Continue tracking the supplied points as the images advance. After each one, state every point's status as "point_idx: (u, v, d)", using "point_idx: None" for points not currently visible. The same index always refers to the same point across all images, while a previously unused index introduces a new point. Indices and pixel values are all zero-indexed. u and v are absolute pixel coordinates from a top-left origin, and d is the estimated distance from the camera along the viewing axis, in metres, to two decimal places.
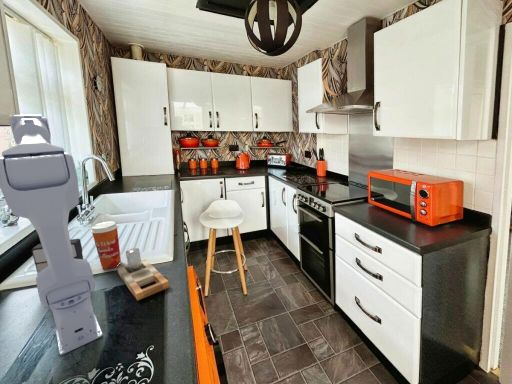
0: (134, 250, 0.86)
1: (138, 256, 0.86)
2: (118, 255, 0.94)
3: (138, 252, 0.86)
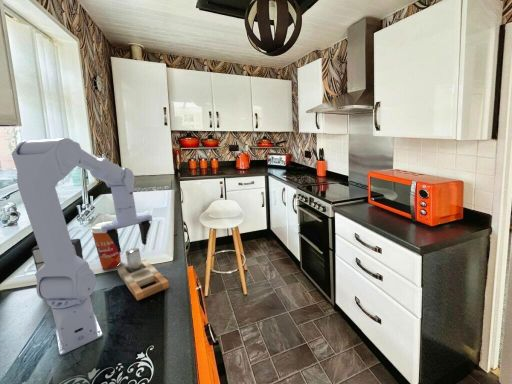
0: (134, 250, 0.86)
1: (138, 256, 0.86)
2: (118, 255, 0.94)
3: (138, 252, 0.86)
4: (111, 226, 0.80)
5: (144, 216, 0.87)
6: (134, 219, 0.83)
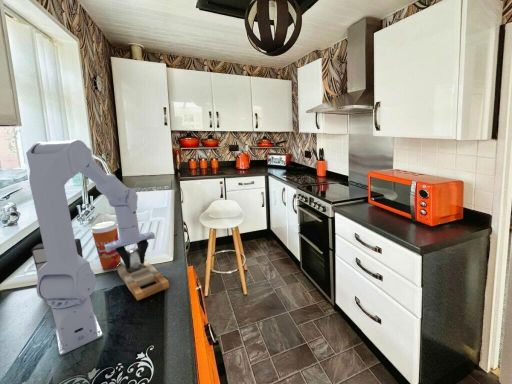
0: (134, 250, 0.86)
1: (138, 256, 0.86)
2: (118, 255, 0.94)
3: (138, 252, 0.86)
4: (115, 245, 0.81)
5: (147, 234, 0.88)
6: (137, 238, 0.84)
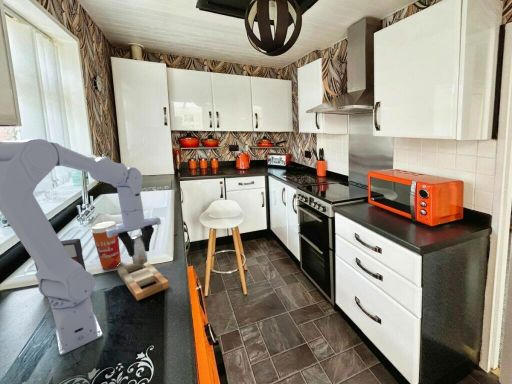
0: (138, 236, 0.79)
1: (142, 243, 0.79)
2: (118, 255, 0.94)
3: (142, 238, 0.79)
4: (117, 230, 0.74)
5: (152, 219, 0.81)
6: (142, 222, 0.77)
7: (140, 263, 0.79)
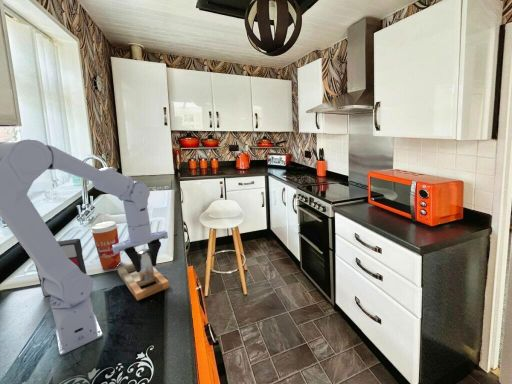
0: (145, 251, 0.77)
1: (149, 258, 0.76)
2: (118, 255, 0.94)
3: (149, 253, 0.76)
4: (124, 246, 0.71)
5: (159, 233, 0.78)
6: (149, 237, 0.74)
7: (147, 279, 0.76)
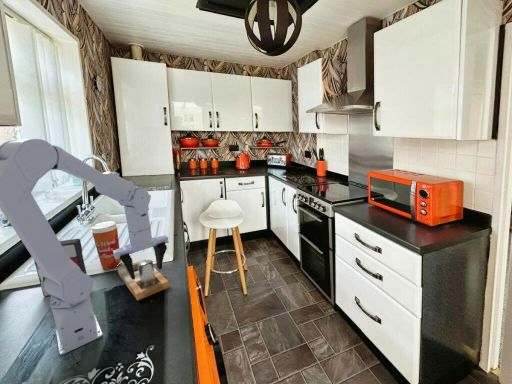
0: (147, 262, 0.77)
1: (151, 269, 0.77)
2: None
3: (151, 264, 0.77)
4: (124, 251, 0.72)
5: (160, 238, 0.79)
6: (149, 242, 0.75)
7: None
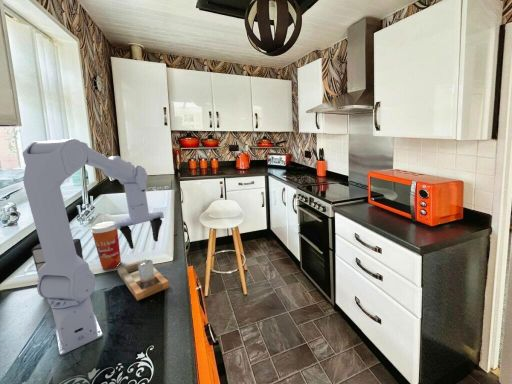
0: (147, 262, 0.77)
1: (151, 269, 0.77)
2: (118, 255, 0.94)
3: (151, 264, 0.77)
4: (124, 223, 0.81)
5: (156, 213, 0.88)
6: (146, 216, 0.84)
7: None
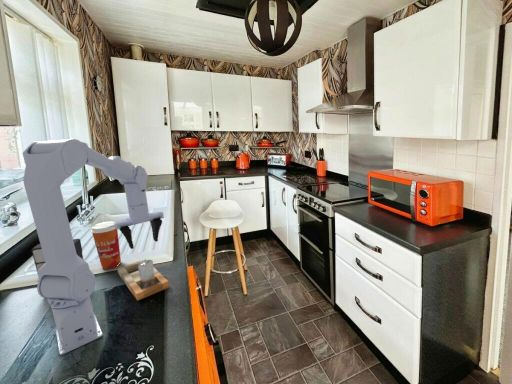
0: (147, 262, 0.77)
1: (151, 269, 0.77)
2: (118, 255, 0.94)
3: (152, 264, 0.77)
4: (124, 223, 0.81)
5: (156, 213, 0.88)
6: (146, 216, 0.84)
7: None
